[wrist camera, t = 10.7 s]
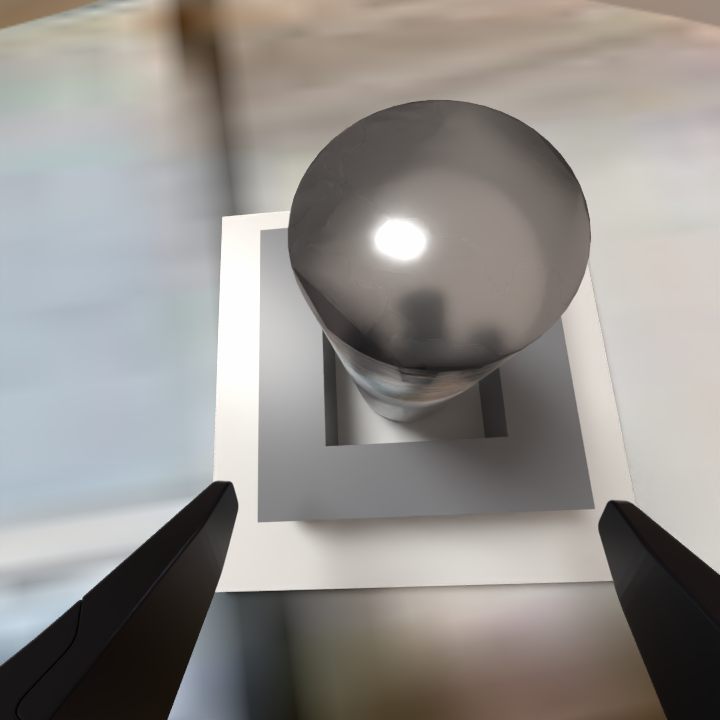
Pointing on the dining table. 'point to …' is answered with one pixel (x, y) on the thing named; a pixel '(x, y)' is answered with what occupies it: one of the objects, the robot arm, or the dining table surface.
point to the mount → (403, 450)
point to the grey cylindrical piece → (436, 248)
